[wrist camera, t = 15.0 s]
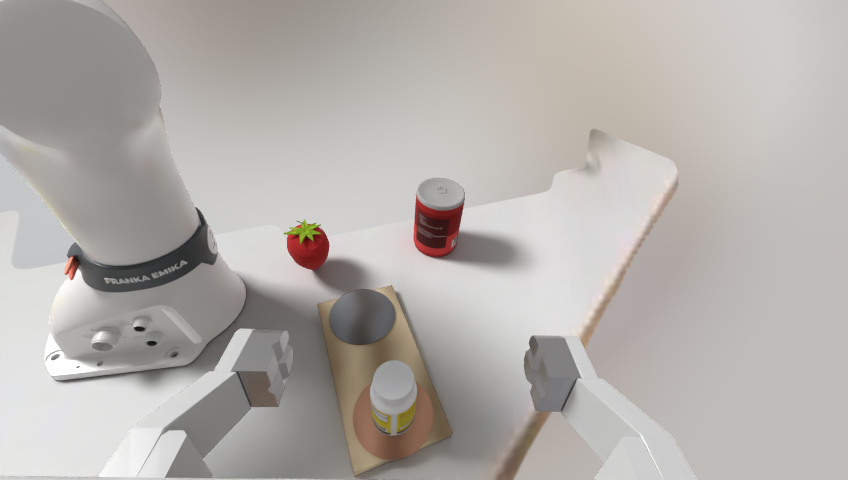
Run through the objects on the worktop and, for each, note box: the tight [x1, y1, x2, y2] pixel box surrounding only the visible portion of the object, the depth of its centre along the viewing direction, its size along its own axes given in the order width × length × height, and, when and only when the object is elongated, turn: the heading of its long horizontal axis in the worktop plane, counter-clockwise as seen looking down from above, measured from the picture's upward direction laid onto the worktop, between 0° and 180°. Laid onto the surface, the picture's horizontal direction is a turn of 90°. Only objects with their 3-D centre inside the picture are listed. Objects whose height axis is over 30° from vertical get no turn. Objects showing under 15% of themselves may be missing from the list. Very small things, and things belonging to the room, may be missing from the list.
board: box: [318, 285, 452, 476], centre depth 45 cm, size 11×23×2 cm, turn 21°
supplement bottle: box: [370, 360, 417, 436], centre depth 37 cm, size 5×5×8 cm
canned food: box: [414, 178, 465, 257], centre depth 60 cm, size 8×8×11 cm
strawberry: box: [284, 220, 329, 270], centre depth 53 cm, size 6×8×10 cm
